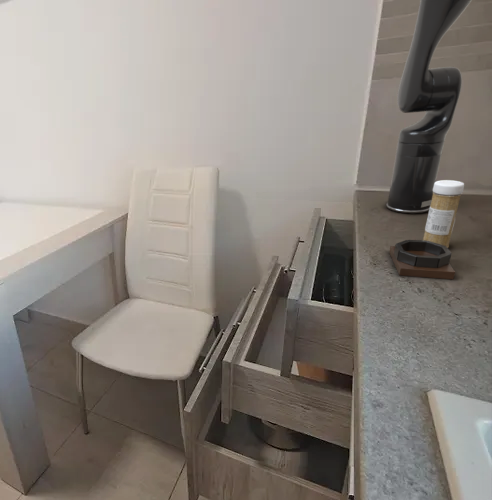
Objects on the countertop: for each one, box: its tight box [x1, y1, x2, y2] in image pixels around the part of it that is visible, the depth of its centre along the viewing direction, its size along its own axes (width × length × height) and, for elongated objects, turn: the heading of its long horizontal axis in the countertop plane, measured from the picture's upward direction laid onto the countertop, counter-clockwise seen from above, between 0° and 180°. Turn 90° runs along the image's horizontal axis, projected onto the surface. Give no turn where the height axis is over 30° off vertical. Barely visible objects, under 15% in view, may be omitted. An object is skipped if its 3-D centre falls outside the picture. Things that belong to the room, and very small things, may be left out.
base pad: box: [389, 239, 456, 280], centre depth 69 cm, size 10×8×4 cm
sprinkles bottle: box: [422, 179, 465, 249], centre depth 73 cm, size 5×5×13 cm
